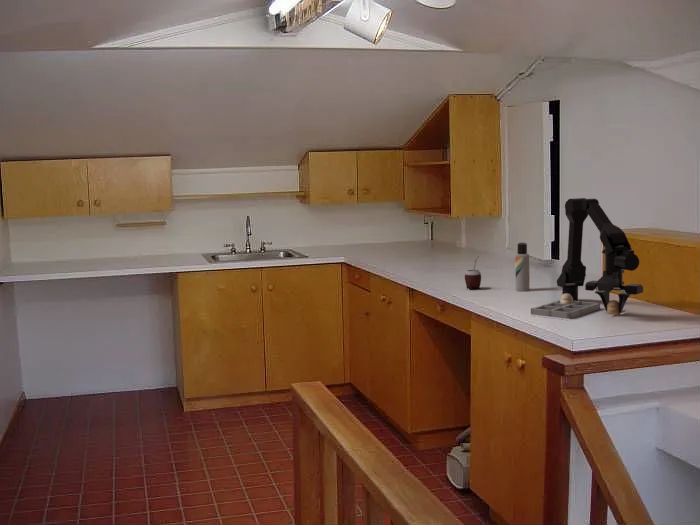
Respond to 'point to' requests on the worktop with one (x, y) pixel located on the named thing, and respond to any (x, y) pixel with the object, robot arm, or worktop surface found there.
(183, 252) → the worktop surface
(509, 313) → the worktop surface
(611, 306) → the brown egg
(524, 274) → the lotion bottle
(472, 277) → the mate gourd
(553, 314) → the grey egg tray
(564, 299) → the beige rounded cylinder
